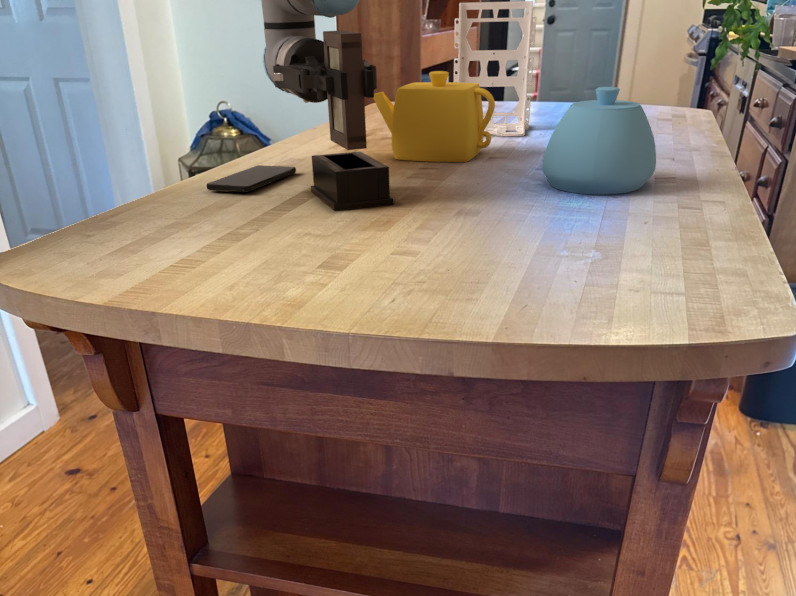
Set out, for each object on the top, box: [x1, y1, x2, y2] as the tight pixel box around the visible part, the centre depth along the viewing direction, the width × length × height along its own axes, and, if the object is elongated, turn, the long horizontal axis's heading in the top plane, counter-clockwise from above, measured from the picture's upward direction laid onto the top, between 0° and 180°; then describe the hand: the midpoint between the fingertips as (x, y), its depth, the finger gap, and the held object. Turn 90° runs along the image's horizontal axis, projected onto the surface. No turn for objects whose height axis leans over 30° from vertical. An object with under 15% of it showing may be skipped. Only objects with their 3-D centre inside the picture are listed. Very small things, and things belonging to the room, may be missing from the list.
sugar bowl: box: [541, 86, 657, 196], centre depth 99 cm, size 15×15×12 cm
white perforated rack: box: [453, 0, 538, 137], centre depth 136 cm, size 14×14×20 cm
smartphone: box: [206, 164, 297, 193], centre depth 108 cm, size 7×1×15 cm
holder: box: [310, 151, 395, 212], centre depth 98 cm, size 12×8×4 cm, turn 20°
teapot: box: [372, 70, 496, 163], centre depth 120 cm, size 20×12×12 cm, turn 73°
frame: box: [322, 30, 368, 151], centre depth 92 cm, size 8×2×12 cm, turn 20°
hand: (357, 85), depth 87 cm, fingers closed on frame, 2 cm apart
